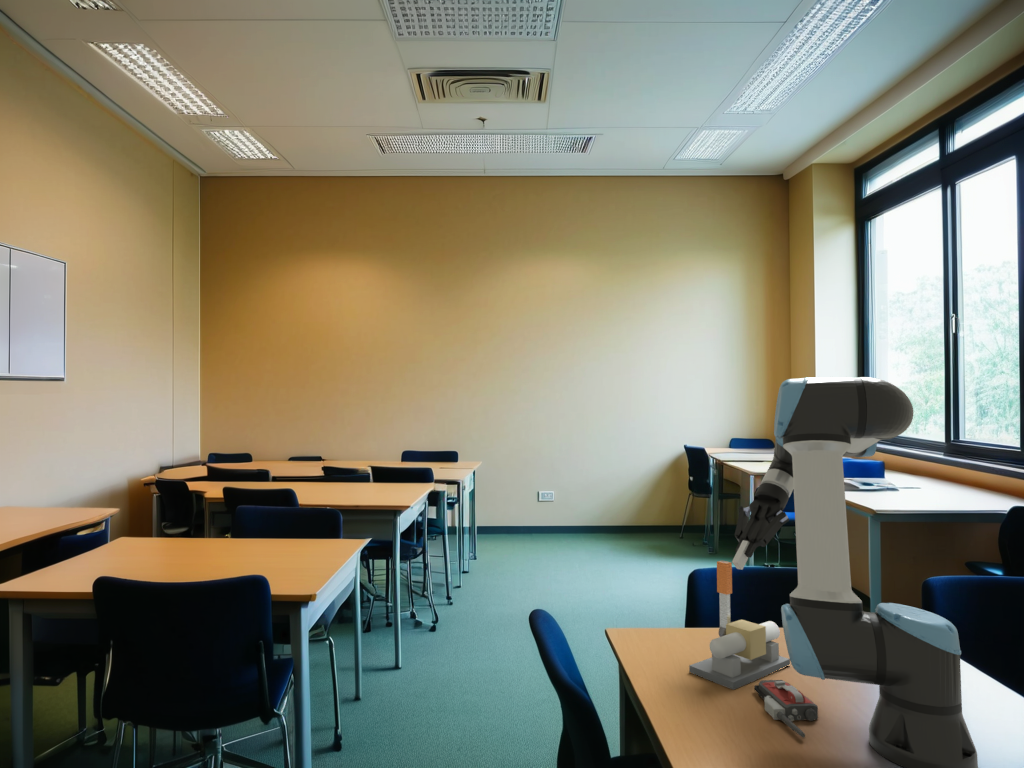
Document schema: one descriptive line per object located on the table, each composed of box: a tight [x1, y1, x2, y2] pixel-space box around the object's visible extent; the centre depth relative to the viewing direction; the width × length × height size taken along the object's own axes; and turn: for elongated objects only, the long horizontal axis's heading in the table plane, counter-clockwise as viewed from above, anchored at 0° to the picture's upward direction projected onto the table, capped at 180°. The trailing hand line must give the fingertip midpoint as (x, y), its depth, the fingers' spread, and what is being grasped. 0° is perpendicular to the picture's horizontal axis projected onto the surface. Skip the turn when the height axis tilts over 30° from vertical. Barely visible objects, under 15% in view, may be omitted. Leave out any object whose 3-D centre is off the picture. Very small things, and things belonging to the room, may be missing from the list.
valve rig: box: [688, 619, 791, 690], centre depth 138 cm, size 22×11×10 cm, turn 126°
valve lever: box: [716, 560, 733, 637], centre depth 141 cm, size 3×3×17 cm
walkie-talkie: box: [753, 679, 819, 738], centre depth 116 cm, size 9×4×20 cm
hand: (737, 565), depth 146 cm, fingers closed
